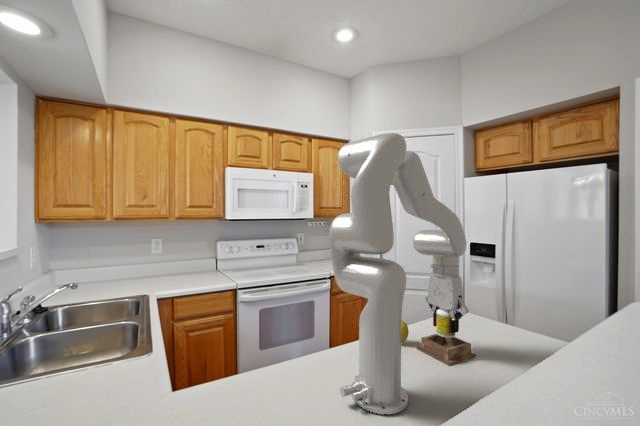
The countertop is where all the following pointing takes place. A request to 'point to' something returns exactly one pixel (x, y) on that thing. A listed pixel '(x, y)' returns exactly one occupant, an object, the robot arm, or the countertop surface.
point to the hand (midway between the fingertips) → (445, 328)
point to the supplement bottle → (443, 323)
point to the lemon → (404, 331)
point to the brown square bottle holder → (446, 349)
